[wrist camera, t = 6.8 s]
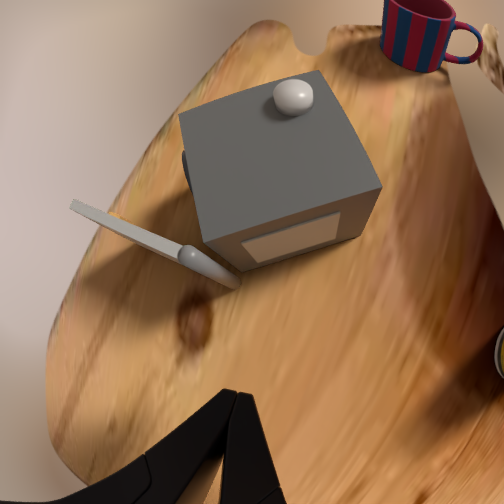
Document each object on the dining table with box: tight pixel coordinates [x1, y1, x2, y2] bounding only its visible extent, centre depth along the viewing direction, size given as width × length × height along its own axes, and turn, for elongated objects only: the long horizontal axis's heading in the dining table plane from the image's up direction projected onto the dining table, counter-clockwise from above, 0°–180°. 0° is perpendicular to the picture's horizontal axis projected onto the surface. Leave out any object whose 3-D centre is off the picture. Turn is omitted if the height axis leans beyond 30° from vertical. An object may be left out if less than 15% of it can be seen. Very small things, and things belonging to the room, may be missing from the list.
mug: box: [380, 0, 483, 72], centre depth 19 cm, size 7×10×7 cm
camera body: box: [178, 70, 382, 272], centre depth 18 cm, size 8×9×8 cm
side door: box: [70, 199, 241, 290], centre depth 18 cm, size 9×1×8 cm, turn 66°
